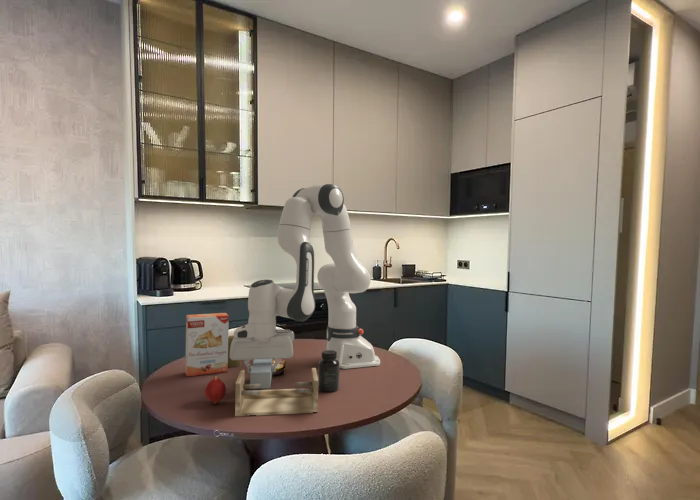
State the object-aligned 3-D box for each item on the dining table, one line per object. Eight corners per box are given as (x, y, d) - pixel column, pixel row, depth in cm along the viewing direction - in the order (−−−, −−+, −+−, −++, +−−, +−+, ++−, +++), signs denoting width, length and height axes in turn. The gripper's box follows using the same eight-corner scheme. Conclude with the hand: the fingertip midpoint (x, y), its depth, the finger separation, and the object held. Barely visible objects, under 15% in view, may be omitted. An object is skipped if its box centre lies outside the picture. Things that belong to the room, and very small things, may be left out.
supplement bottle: (320, 384, 131) (320, 348, 131) (340, 385, 131) (341, 349, 130) (316, 391, 125) (316, 354, 124) (337, 393, 124) (338, 355, 124)
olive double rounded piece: (243, 362, 153) (243, 334, 153) (237, 367, 147) (237, 338, 147) (228, 362, 153) (228, 334, 153) (221, 366, 147) (222, 337, 147)
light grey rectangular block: (254, 370, 136) (254, 356, 136) (272, 369, 137) (272, 355, 137) (250, 389, 120) (250, 372, 119) (270, 388, 120) (270, 372, 120)
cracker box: (186, 377, 135) (187, 317, 135) (184, 372, 140) (185, 314, 140) (228, 372, 141) (229, 314, 141) (225, 367, 147) (226, 311, 146)
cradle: (315, 397, 120) (315, 367, 120) (317, 412, 110) (318, 380, 109) (240, 400, 117) (240, 370, 117) (235, 416, 106) (235, 383, 106)
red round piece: (208, 399, 117) (208, 372, 117) (227, 399, 118) (228, 372, 117) (202, 407, 111) (202, 379, 111) (223, 407, 112) (223, 379, 112)
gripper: (294, 326, 133) (293, 367, 133) (231, 328, 129) (231, 370, 130) (294, 331, 126) (294, 373, 127) (228, 333, 123) (228, 376, 124)
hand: (262, 371), depth 128 cm, fingers closed on light grey rectangular block, 6 cm apart
